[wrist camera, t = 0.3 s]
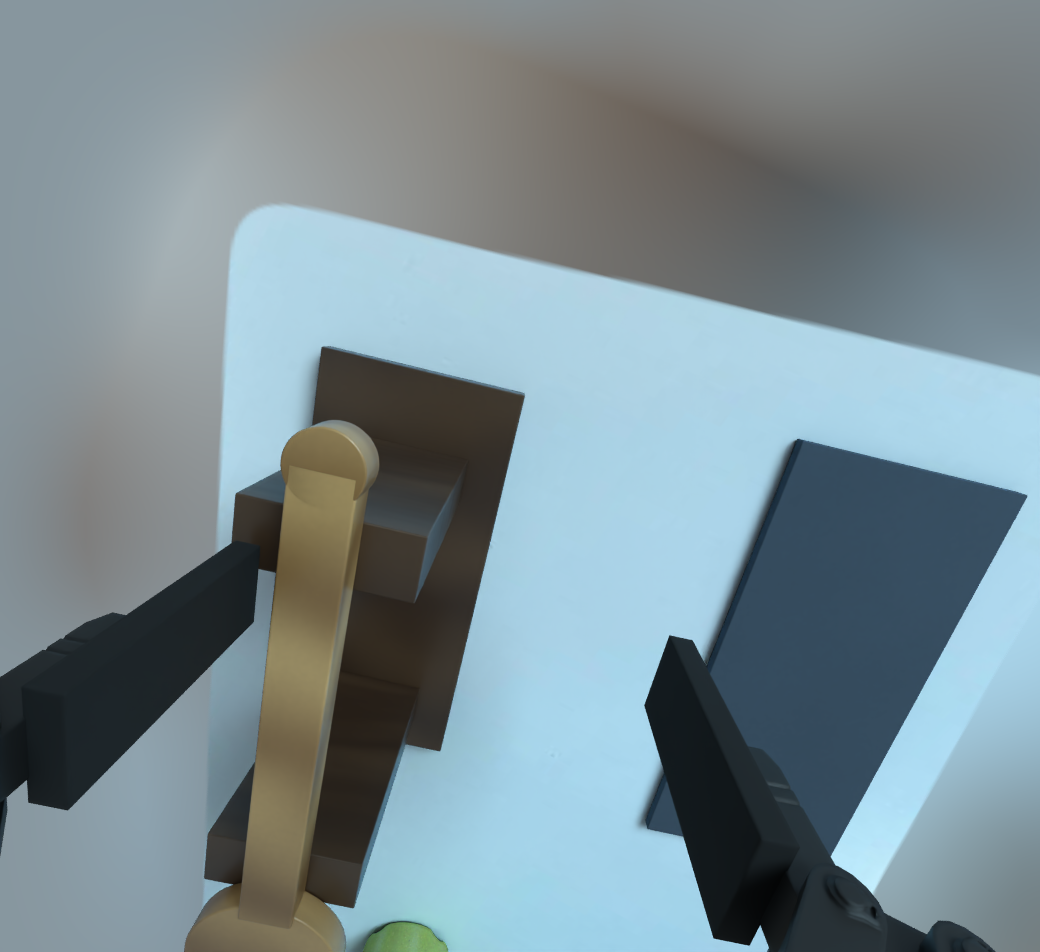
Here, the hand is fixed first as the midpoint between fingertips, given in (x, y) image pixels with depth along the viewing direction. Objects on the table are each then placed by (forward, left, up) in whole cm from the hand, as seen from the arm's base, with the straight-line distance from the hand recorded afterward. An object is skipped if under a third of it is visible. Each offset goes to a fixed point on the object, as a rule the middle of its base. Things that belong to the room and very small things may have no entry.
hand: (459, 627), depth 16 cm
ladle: (+7, -5, 0) cm, 8 cm away
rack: (+5, -5, -11) cm, 13 cm away
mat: (+6, +20, -11) cm, 24 cm away
